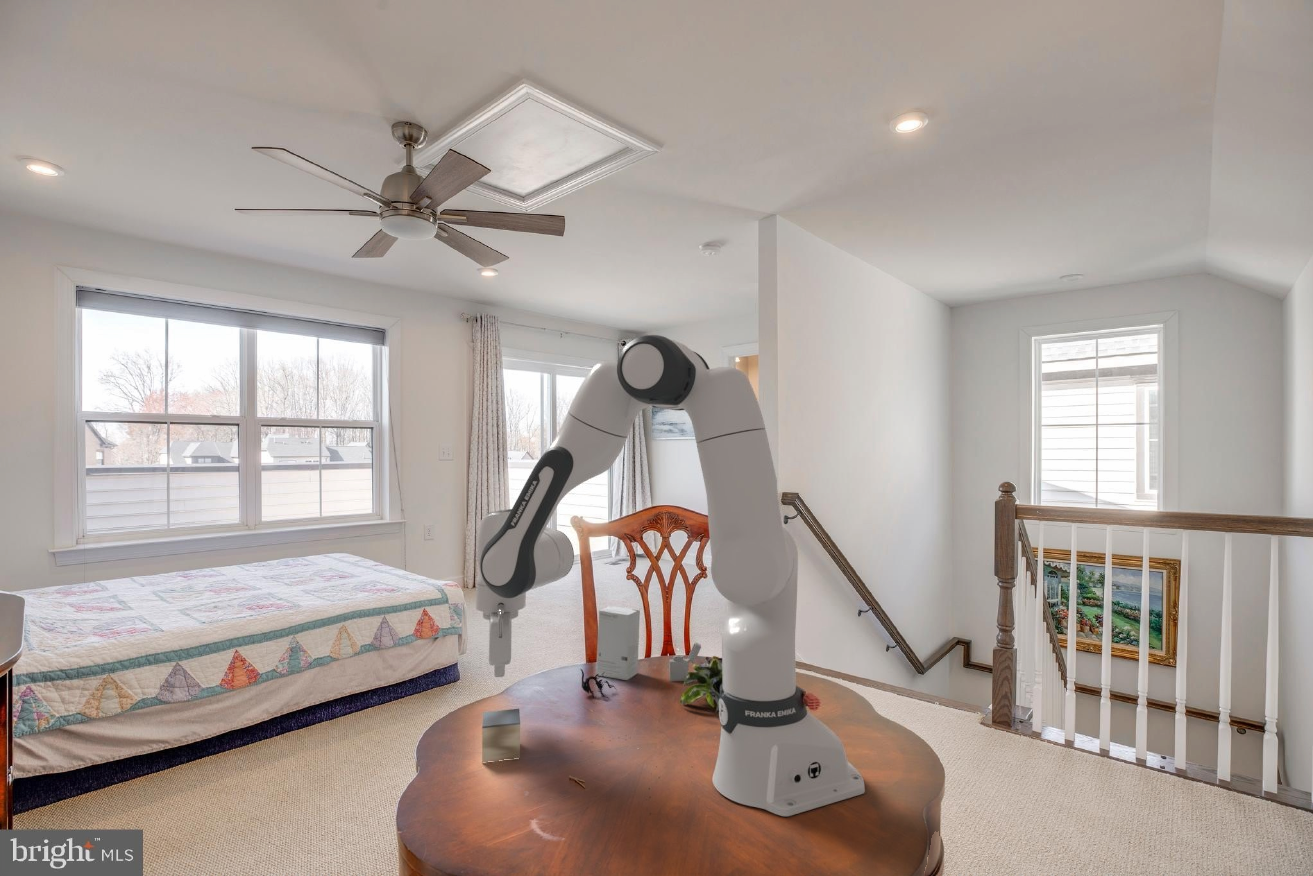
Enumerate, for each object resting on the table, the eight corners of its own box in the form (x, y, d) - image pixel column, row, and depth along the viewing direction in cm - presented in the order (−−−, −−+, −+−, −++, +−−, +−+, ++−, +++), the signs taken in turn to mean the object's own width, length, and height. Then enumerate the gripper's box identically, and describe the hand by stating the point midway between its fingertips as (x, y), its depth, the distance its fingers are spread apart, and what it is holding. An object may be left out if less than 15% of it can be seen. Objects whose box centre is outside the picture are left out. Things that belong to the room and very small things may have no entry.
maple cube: (519, 743, 107) (519, 708, 108) (520, 759, 102) (520, 722, 102) (483, 747, 106) (483, 712, 106) (482, 764, 100) (482, 726, 100)
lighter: (670, 681, 137) (669, 645, 138) (669, 678, 139) (669, 642, 139) (701, 680, 138) (701, 644, 138) (700, 677, 140) (700, 641, 140)
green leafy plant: (715, 725, 127) (746, 674, 130) (724, 738, 116) (757, 682, 119) (670, 693, 128) (701, 642, 131) (674, 703, 117) (708, 648, 120)
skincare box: (595, 676, 141) (595, 610, 142) (608, 668, 147) (608, 604, 147) (628, 681, 138) (628, 613, 138) (640, 673, 143) (640, 608, 144)
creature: (610, 691, 135) (575, 687, 133) (616, 666, 135) (580, 662, 133) (619, 705, 127) (581, 700, 125) (624, 678, 128) (587, 673, 126)
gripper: (520, 610, 104) (518, 694, 103) (517, 586, 124) (516, 656, 123) (481, 612, 102) (479, 697, 102) (484, 587, 122) (483, 658, 122)
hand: (499, 674), depth 113 cm, fingers closed
